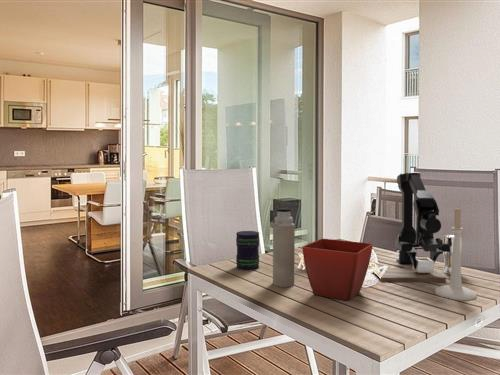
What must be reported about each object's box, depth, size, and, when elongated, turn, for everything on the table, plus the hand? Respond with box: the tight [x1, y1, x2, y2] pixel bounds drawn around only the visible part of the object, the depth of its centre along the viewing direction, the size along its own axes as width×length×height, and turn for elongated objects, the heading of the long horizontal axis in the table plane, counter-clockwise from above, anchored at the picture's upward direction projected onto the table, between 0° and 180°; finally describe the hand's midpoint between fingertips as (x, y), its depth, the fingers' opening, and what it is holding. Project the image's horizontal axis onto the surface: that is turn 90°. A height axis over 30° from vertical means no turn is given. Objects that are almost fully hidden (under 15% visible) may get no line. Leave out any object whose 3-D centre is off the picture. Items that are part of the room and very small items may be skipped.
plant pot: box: [302, 238, 373, 301], centre depth 151 cm, size 19×19×17 cm
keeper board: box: [380, 259, 447, 283], centre depth 172 cm, size 14×24×7 cm, turn 88°
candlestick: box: [434, 207, 477, 301], centre depth 149 cm, size 13×13×30 cm
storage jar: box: [235, 230, 260, 272], centre depth 186 cm, size 10×10×15 cm
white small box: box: [412, 257, 435, 273], centre depth 172 cm, size 6×6×4 cm
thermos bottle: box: [272, 207, 296, 288], centre depth 162 cm, size 8×8×28 cm
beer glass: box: [442, 234, 463, 275], centre depth 178 cm, size 7×7×15 cm
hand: (423, 268), depth 172 cm, fingers closed on white small box, 6 cm apart
